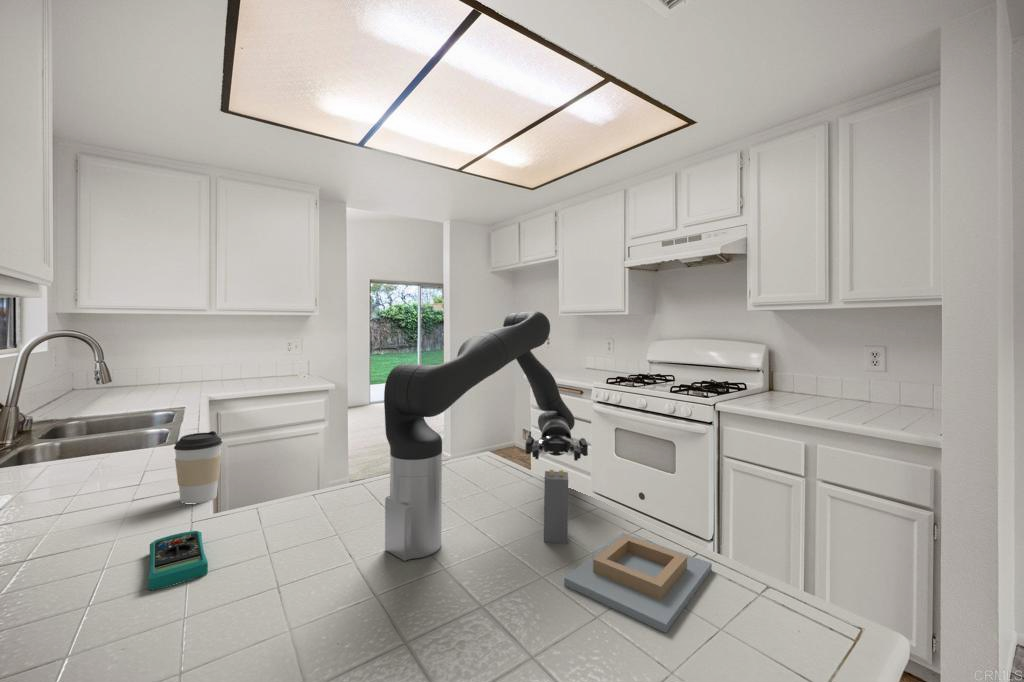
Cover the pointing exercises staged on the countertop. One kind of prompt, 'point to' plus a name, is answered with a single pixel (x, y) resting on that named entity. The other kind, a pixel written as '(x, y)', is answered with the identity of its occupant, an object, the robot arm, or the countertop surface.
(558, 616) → the countertop surface
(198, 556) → the digital multimeter
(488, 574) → the countertop surface
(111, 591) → the countertop surface
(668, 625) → the holder
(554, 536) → the connector
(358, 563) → the countertop surface
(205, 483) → the coffee cup
